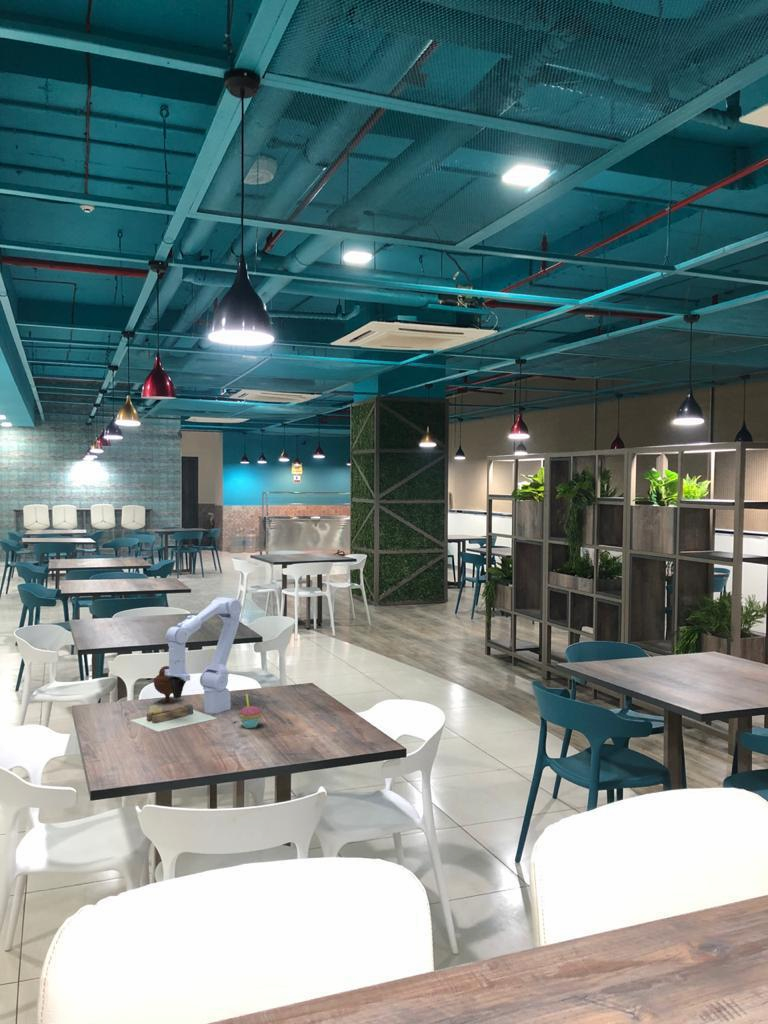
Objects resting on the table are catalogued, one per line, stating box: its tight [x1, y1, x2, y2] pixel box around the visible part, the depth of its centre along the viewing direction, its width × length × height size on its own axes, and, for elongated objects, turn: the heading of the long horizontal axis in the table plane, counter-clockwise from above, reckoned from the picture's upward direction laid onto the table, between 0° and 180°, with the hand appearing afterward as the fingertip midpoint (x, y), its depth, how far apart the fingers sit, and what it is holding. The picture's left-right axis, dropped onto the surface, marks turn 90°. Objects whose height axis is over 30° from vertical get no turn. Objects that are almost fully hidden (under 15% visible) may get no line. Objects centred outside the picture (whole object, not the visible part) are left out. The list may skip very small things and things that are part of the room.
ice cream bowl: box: [153, 665, 173, 704], centre depth 321 cm, size 11×11×15 cm
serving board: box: [130, 709, 218, 732], centre depth 296 cm, size 24×20×1 cm
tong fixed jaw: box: [146, 704, 194, 722], centre depth 299 cm, size 18×4×3 cm, turn 134°
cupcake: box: [237, 692, 264, 729], centre depth 291 cm, size 9×8×12 cm
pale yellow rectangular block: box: [148, 704, 163, 714], centre depth 296 cm, size 3×4×2 cm
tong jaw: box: [152, 707, 188, 723], centre depth 296 cm, size 14×2×2 cm, turn 139°
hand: (177, 697), depth 294 cm, fingers closed
